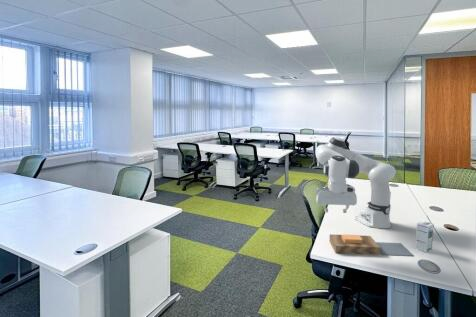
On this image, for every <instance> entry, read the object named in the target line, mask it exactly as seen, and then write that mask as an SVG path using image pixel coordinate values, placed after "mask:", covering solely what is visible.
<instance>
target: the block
mask: <svg viewBox="0 0 476 317" xmlns="http://www.w3.org/2000/svg"><path fill="white" fill-rule="evenodd" d="M341 235H342V239H343V241H344V242H345V243H362V241H363V240H362V238H361V237H360V236H359V235H360V234H346V233H345V234H344V233H343V234H341Z"/></svg>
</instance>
